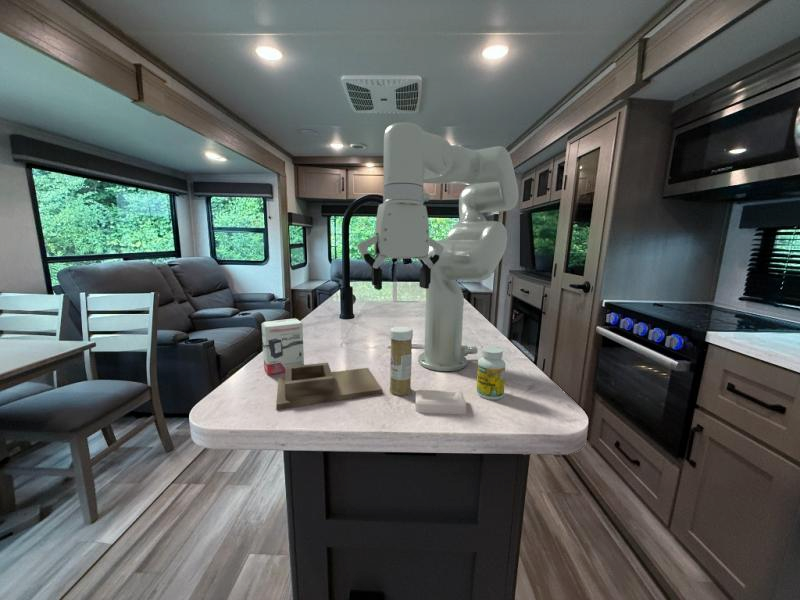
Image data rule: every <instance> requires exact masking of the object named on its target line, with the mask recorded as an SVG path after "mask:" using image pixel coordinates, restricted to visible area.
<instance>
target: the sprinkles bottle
mask: <svg viewBox="0 0 800 600" xmlns="http://www.w3.org/2000/svg"><path fill="white" fill-rule="evenodd" d="M413 331H414V330H413V328H411V327H409V326H394V327H391V328H390V331H389V338H390V360H389V361H390V363H389V364H390V365H389V366H390V368H389V369H390V370H389V371H390V372H389V377H390V380H389V393H391V394H393V395H395V396H405V395H407V394H410V393H411V391H412V388H411V384H412V383H411V382H412V381H411V380H412V379H411V378H412V363H413V362H412V361H413V360H412V358H413V357H412V355H413V353H412V348H413V347H412V346H413V345H412V341H413V336H414V332H413Z"/></svg>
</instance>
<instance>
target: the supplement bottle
mask: <svg viewBox="0 0 800 600" xmlns="http://www.w3.org/2000/svg"><path fill="white" fill-rule="evenodd" d="M503 352H504V351H503V349H502V348H499V347H496V346H484V347H482V348H481V356H482V357H480V358H478V361H477V376H476V377H477V378H476V393H477V395H478V396H479V397H481V398H483V399H486V400H491V401H492V400H494V401H495V400H496V401H498V400H500V399H502V398H503V397H504V393H505V382H506V381H505V380H506V379H505V378H506V362H505V361H504V359H502V358H503V355H504V354H503Z"/></svg>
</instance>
